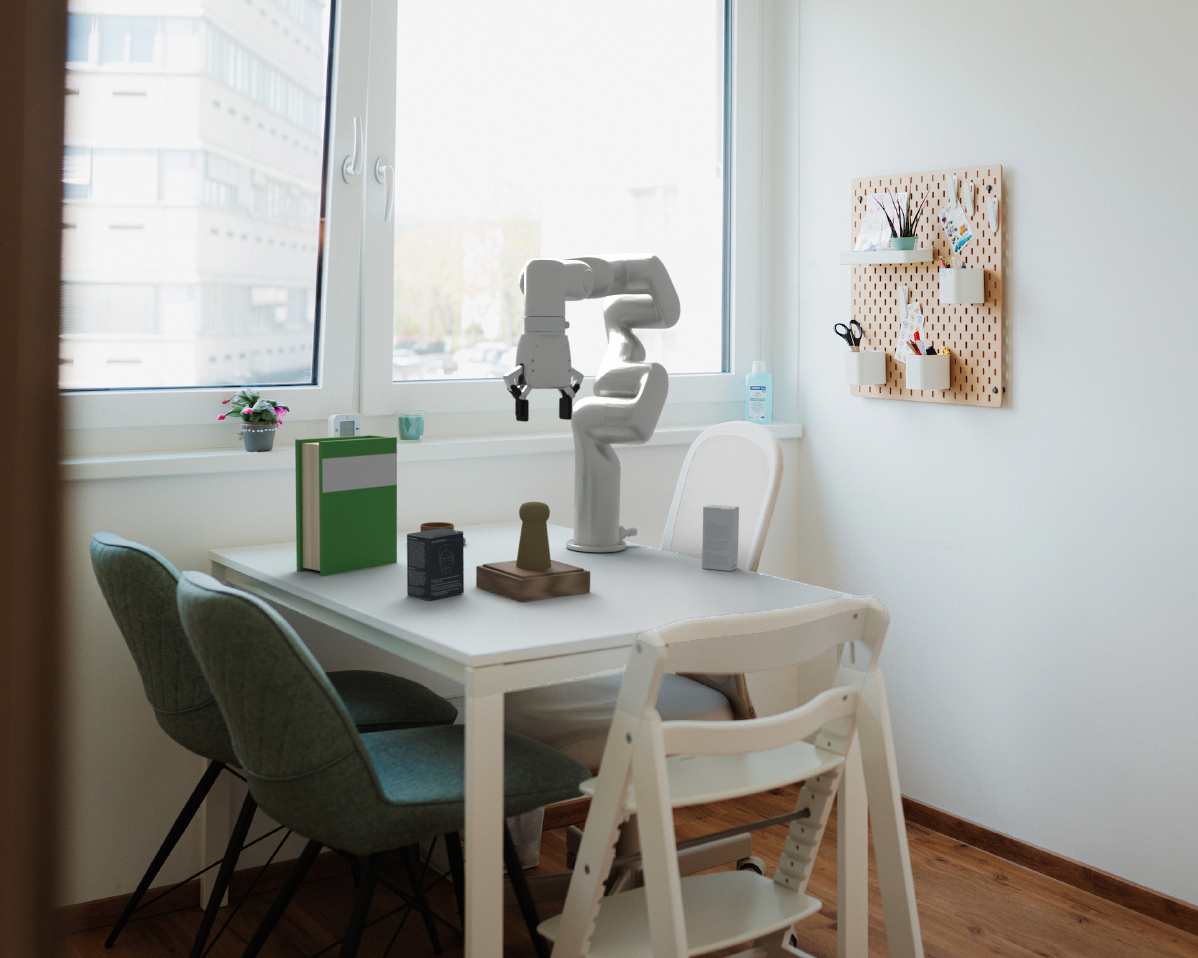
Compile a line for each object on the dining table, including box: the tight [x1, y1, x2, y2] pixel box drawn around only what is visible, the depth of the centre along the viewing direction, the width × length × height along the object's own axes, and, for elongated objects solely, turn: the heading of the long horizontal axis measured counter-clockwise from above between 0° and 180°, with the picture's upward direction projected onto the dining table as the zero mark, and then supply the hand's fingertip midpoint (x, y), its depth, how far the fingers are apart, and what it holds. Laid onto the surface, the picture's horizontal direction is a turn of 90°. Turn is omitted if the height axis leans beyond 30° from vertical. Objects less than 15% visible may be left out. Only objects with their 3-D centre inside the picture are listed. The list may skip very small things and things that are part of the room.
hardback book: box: [294, 434, 398, 577], centre depth 201 cm, size 18×7×24 cm, turn 144°
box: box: [406, 528, 465, 601], centre depth 179 cm, size 8×6×11 cm
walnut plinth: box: [475, 559, 591, 603], centre depth 185 cm, size 14×14×4 cm
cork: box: [516, 501, 552, 570], centre depth 184 cm, size 6×6×11 cm
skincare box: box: [701, 504, 740, 572], centre depth 207 cm, size 6×4×12 cm
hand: (544, 420), depth 201 cm, fingers open, 9 cm apart
